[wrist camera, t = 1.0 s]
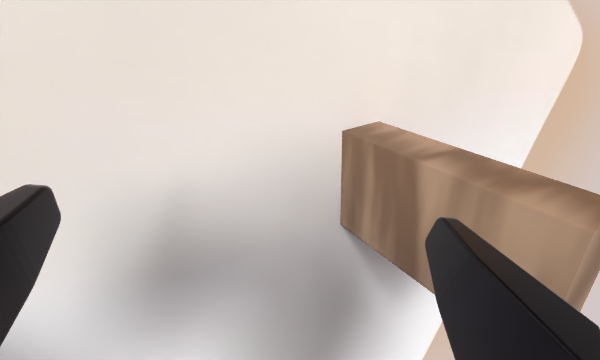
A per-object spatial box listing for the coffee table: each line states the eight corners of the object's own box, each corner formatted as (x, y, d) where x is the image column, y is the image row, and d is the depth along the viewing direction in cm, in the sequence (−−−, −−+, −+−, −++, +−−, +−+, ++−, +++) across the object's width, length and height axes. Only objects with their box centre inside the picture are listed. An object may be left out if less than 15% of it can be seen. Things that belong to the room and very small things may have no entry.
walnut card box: (340, 224, 28) (534, 369, 16) (342, 131, 24) (593, 233, 13) (372, 210, 29) (569, 334, 18) (378, 121, 26) (630, 205, 14)
